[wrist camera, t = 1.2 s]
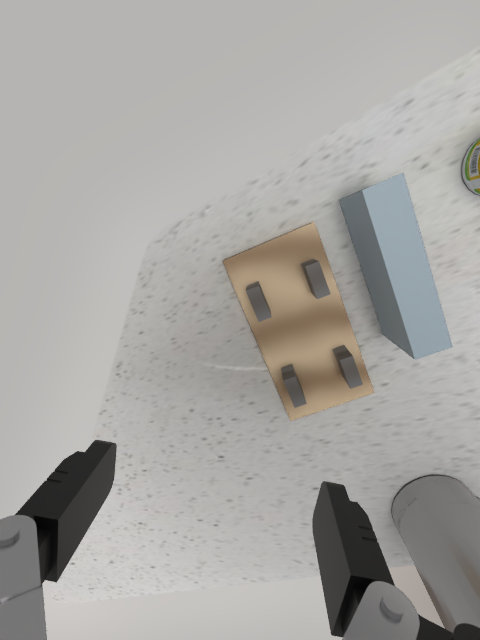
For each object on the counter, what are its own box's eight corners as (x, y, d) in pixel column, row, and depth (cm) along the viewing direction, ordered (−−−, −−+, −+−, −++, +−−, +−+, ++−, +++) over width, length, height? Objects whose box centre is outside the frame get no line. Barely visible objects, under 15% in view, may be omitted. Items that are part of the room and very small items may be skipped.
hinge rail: (369, 386, 35) (385, 407, 30) (289, 413, 36) (293, 438, 31) (311, 222, 31) (320, 220, 26) (224, 259, 32) (219, 264, 28)
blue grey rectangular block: (412, 323, 33) (452, 346, 26) (382, 334, 33) (414, 359, 26) (370, 186, 30) (403, 172, 23) (338, 200, 30) (362, 190, 23)
